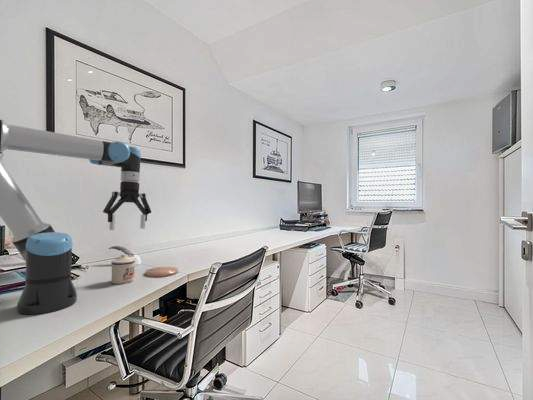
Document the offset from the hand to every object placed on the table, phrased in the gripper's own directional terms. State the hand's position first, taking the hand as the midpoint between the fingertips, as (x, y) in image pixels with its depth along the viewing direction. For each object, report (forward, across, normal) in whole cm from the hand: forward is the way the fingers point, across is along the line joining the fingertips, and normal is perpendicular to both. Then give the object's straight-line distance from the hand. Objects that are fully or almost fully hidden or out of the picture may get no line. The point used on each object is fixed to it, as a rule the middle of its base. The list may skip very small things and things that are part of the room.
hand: (127, 229), depth 117 cm
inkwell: (+22, +15, +31) cm, 41 cm away
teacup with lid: (+23, 0, 0) cm, 23 cm away
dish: (+22, +17, -2) cm, 28 cm away
